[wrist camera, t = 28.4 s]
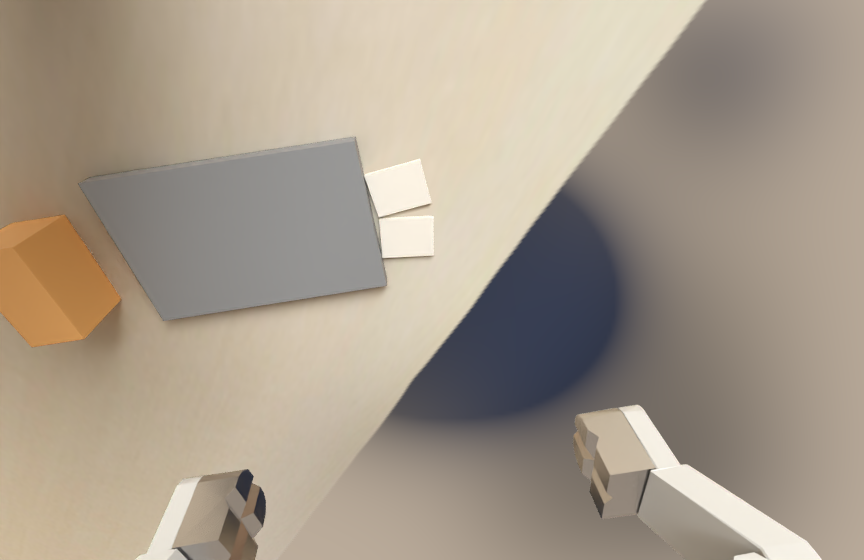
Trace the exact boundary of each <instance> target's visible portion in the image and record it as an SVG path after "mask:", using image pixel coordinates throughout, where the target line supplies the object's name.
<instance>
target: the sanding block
mask: <svg viewBox="0 0 864 560" xmlns="http://www.w3.org/2000/svg"><path fill="white" fill-rule="evenodd" d="M120 300H121V298H120V296H119V295H118V293H117V292H116V290H115V289H114V287H113V286H112V284H111V283H110V281H109V280H108V279H107V277H106V276H105V274H104V273H103V271H102V270H101V268H100V267H99V265H98V264H97V262H96V261H95V259H94V258H93V256H92V255H91V253H90V252H89V250H88V249H87V247H86V246H85V244H84V243H83V241H82V240H81V238H80V237H79V235H78V234H77V232H76V231H75V229H74V228H73V226H72V225H71V223H70V222H69V220H68V219H67V217H66V216H65V215H60V216H54V217H47V218H41V219H34V220H27V221H21V222H14V223H11V224H9V225H7V226H6V227H4V228H2V229H0V312H1V313H2V314H3V316H4V317H5V318H6V319H7V320H8V321H9V322H10V323H11V325H12V326H13V327H14V328H15V329H16V330H17V331H18V332H19V334H20V335H21V336H22V337H23V338H24V339H25V340H26V341H27V343H28V344H29V345H30V346H31V347H37V346H43V345H50V344H56V343H63V342H69V341H75V340H82V339H85V338H86V337H87V336H88V335H89V334H90V332H91V331H92V330H93V329H94V328H95V327H96V326H97V325H98V324H99V323H100V322H101V321H102V320H103V318H104V317H105V316H106V315H107V314H108V313H109V312H110V311H111V310H112V309H113V308H114V307H115V305H116V304H117V303H118V302H119V301H120Z"/></svg>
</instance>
